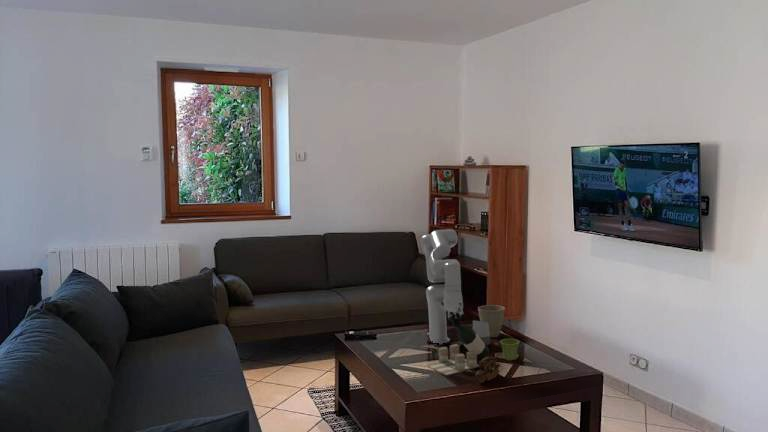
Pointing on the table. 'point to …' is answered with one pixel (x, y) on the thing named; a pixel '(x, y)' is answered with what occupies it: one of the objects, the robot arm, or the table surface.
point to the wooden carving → (487, 369)
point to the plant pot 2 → (510, 348)
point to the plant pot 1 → (492, 318)
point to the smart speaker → (482, 331)
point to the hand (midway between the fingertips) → (454, 325)
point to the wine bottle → (470, 339)
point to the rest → (454, 361)
